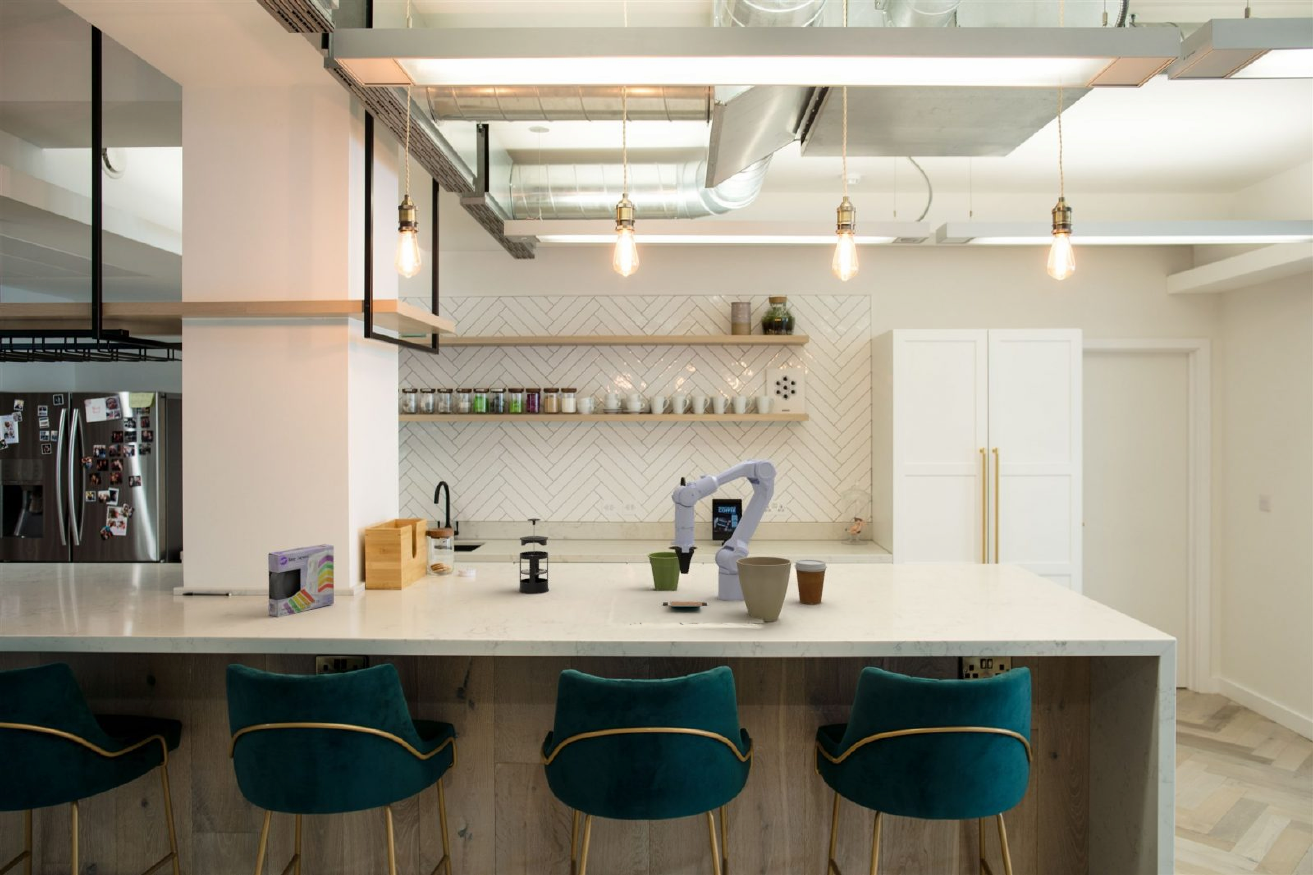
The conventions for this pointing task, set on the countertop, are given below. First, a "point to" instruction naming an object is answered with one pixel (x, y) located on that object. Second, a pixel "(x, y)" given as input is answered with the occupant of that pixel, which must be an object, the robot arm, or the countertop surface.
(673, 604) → the tile
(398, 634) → the countertop surface
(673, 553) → the plant pot
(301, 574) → the cake pan box
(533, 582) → the french press
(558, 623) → the countertop surface
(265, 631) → the countertop surface
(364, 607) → the countertop surface
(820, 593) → the disposable coffee cup
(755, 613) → the plant pot
